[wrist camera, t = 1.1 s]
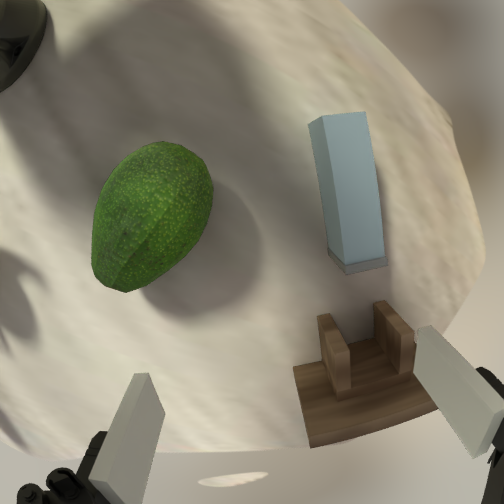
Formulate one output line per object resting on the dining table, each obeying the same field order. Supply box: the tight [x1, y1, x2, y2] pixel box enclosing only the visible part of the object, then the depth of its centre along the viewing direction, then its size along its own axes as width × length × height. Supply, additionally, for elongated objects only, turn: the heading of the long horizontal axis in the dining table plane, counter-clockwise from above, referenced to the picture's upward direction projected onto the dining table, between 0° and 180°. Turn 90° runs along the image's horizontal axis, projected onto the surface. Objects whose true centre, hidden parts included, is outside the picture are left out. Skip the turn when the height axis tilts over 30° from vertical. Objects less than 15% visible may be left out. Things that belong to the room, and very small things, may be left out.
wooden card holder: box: [293, 300, 439, 448], centre depth 31 cm, size 8×16×12 cm, turn 101°
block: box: [308, 112, 388, 275], centre depth 29 cm, size 14×4×6 cm, turn 11°
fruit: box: [91, 141, 213, 293], centre depth 27 cm, size 15×10×10 cm, turn 141°
